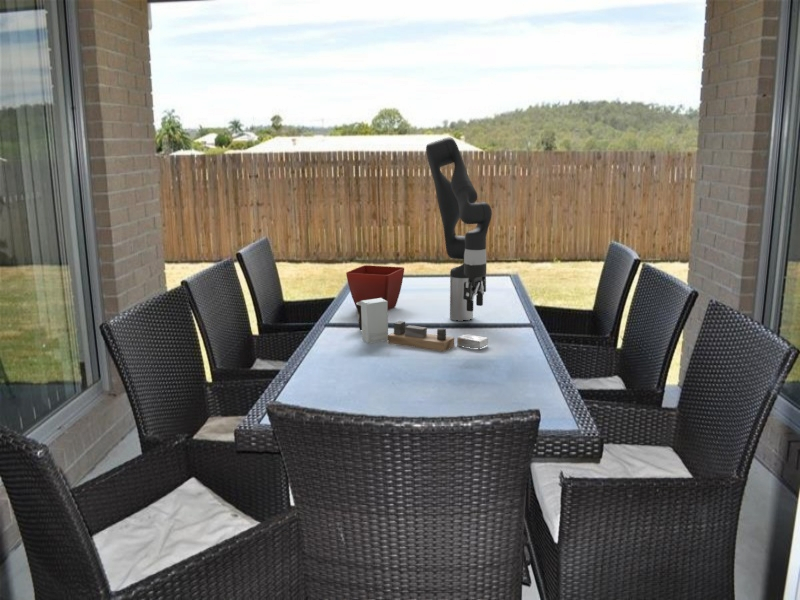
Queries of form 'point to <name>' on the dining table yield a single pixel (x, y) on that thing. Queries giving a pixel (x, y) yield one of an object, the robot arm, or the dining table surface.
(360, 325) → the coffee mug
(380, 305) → the skincare box
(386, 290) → the plant pot
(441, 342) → the body
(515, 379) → the dining table surface
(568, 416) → the dining table surface
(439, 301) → the dining table surface
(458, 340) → the lever cap
